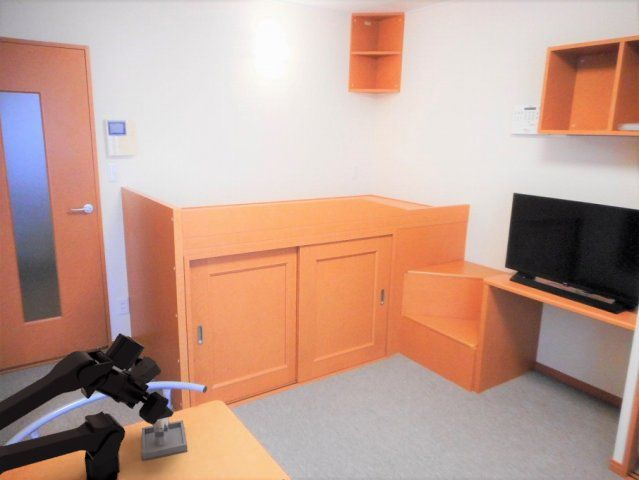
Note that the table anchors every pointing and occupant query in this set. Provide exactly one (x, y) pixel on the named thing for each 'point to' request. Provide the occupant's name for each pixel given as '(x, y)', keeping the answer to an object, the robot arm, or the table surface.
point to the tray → (172, 447)
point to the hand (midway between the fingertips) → (162, 406)
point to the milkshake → (161, 431)
